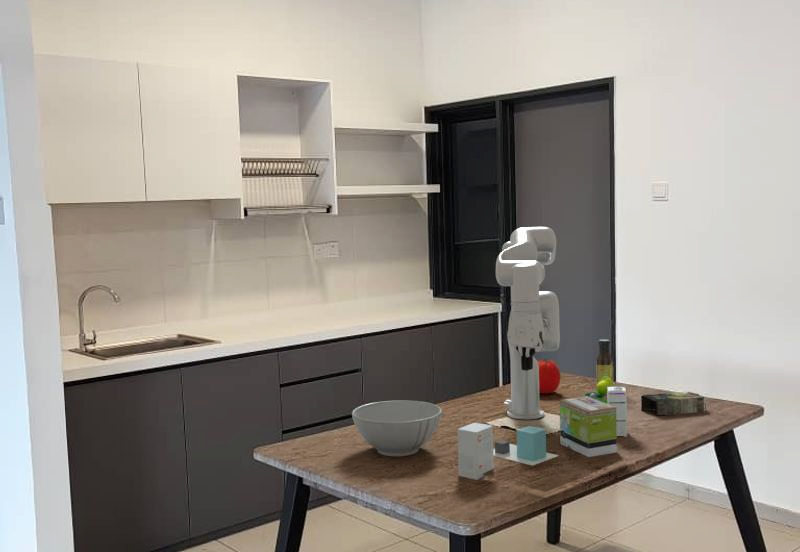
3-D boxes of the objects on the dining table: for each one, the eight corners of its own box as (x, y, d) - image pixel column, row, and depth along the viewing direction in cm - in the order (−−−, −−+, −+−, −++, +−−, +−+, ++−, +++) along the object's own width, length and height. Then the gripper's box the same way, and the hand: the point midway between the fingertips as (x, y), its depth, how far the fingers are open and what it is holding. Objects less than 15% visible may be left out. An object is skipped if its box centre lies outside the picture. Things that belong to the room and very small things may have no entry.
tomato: (564, 390, 323) (563, 356, 322) (556, 397, 312) (555, 362, 310) (534, 388, 327) (534, 355, 326) (526, 395, 316) (525, 361, 315)
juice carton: (690, 405, 295) (690, 388, 295) (708, 412, 286) (708, 394, 285) (640, 411, 290) (640, 394, 289) (656, 418, 280) (656, 400, 280)
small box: (475, 468, 232) (474, 422, 231) (494, 472, 228) (493, 425, 227) (457, 476, 226) (456, 428, 225) (477, 480, 222) (476, 432, 221)
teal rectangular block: (517, 457, 237) (516, 430, 236) (529, 452, 241) (529, 425, 240) (533, 461, 233) (533, 433, 232) (546, 456, 237) (545, 429, 236)
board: (482, 456, 242) (482, 442, 242) (509, 447, 250) (509, 433, 250) (532, 469, 229) (532, 454, 229) (559, 459, 237) (558, 445, 237)
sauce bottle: (616, 393, 316) (616, 340, 315) (601, 394, 315) (600, 341, 313) (608, 389, 323) (608, 338, 321) (593, 390, 321) (593, 339, 320)
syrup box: (627, 437, 258) (627, 390, 257) (607, 436, 259) (607, 390, 258) (626, 432, 263) (626, 386, 262) (607, 431, 265) (606, 386, 263)
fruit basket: (581, 409, 294) (581, 377, 293) (596, 404, 300) (596, 373, 299) (609, 414, 286) (609, 381, 285) (624, 409, 292) (623, 377, 291)
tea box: (558, 447, 249) (558, 398, 248) (587, 443, 253) (587, 395, 251) (588, 461, 235) (587, 409, 234) (618, 456, 239) (617, 405, 238)
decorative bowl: (451, 460, 240) (450, 418, 239) (358, 467, 236) (357, 425, 234) (432, 435, 266) (431, 397, 265) (348, 441, 262) (347, 403, 261)
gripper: (497, 306, 244) (498, 368, 246) (539, 311, 233) (540, 375, 235) (513, 303, 249) (514, 363, 251) (555, 307, 238) (556, 371, 240)
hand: (527, 369), depth 243 cm, fingers closed
